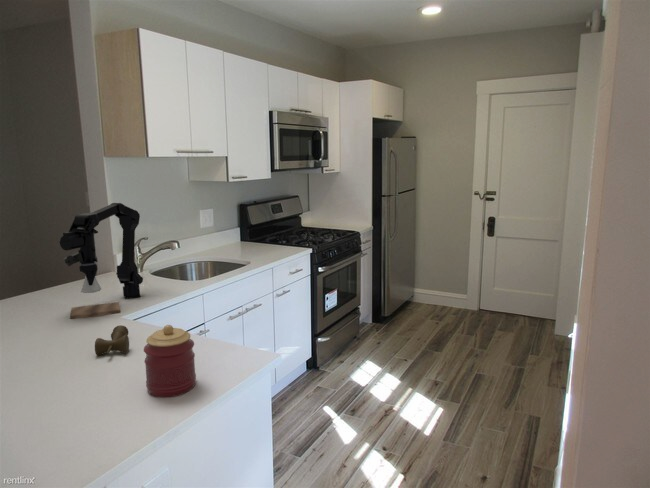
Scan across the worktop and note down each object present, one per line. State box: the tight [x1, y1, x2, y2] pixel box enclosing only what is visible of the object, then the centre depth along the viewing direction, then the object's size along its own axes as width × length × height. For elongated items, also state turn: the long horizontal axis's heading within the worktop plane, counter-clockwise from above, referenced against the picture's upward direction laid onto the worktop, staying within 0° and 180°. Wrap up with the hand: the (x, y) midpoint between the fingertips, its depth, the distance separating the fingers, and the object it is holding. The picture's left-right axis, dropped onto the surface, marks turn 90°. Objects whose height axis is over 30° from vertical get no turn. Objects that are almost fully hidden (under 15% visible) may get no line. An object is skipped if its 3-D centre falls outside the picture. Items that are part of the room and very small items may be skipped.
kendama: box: [94, 325, 130, 357], centre depth 153 cm, size 6×10×20 cm
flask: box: [80, 274, 102, 294], centre depth 188 cm, size 7×7×10 cm
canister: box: [143, 324, 197, 398], centre depth 126 cm, size 13×13×18 cm
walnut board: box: [69, 301, 121, 320], centre depth 191 cm, size 18×12×1 cm, turn 116°
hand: (90, 283), depth 189 cm, fingers closed on flask, 5 cm apart
